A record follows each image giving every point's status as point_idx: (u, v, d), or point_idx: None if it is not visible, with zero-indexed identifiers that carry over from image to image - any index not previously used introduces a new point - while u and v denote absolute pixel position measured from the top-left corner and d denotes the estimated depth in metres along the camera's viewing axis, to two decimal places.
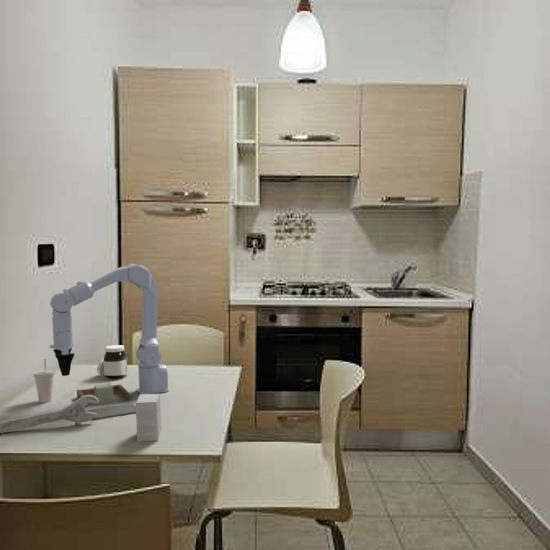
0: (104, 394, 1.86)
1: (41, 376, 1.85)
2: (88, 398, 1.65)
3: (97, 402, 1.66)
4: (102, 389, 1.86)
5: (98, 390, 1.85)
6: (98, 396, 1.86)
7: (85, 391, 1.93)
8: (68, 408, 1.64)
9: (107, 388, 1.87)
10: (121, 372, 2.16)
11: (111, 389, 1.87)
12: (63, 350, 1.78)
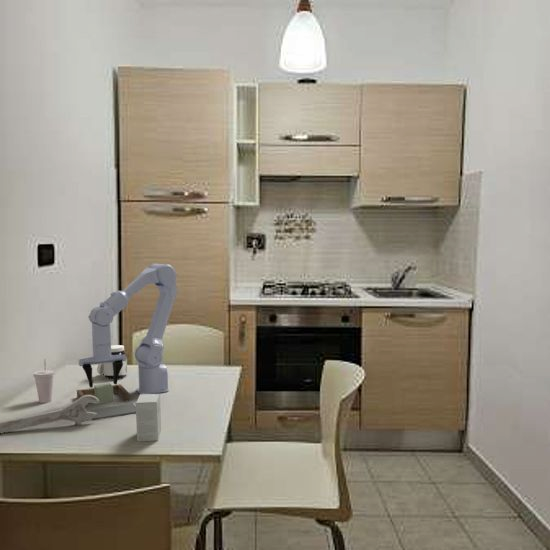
0: (104, 394, 1.86)
1: (41, 376, 1.85)
2: (88, 398, 1.65)
3: (97, 402, 1.66)
4: (102, 389, 1.86)
5: (98, 390, 1.85)
6: (98, 396, 1.86)
7: (85, 391, 1.93)
8: (68, 408, 1.64)
9: (107, 388, 1.87)
10: (121, 372, 2.16)
11: (111, 389, 1.87)
12: None
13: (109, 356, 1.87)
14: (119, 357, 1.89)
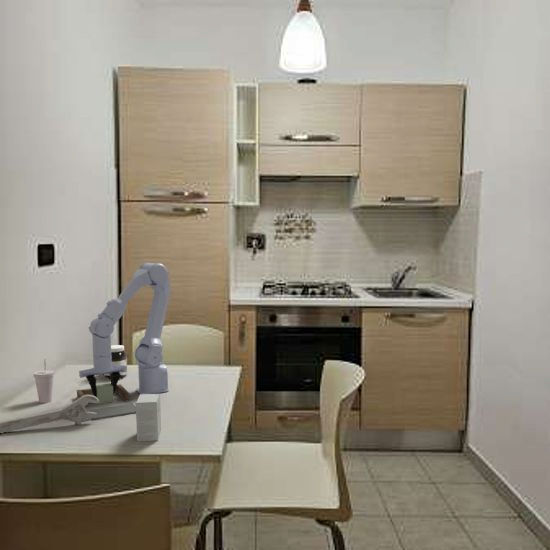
0: (104, 394, 1.86)
1: (41, 376, 1.85)
2: (88, 398, 1.65)
3: (97, 402, 1.66)
4: (102, 389, 1.86)
5: (98, 390, 1.85)
6: (98, 396, 1.86)
7: (85, 391, 1.93)
8: (68, 408, 1.64)
9: (107, 388, 1.87)
10: (121, 372, 2.16)
11: (111, 389, 1.87)
12: (79, 372, 1.85)
13: (110, 367, 1.87)
14: (120, 368, 1.89)
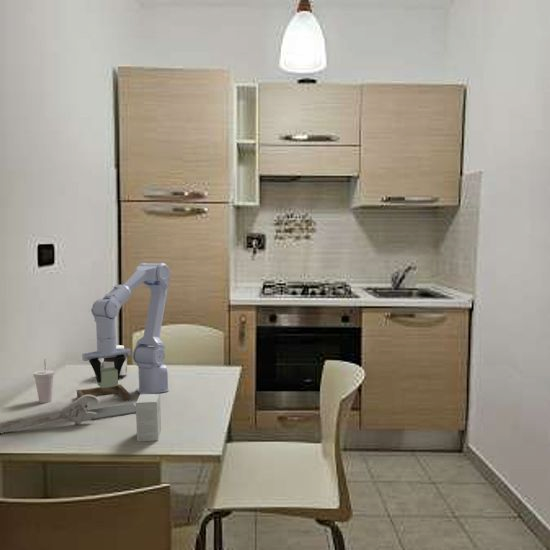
0: (108, 378, 1.79)
1: (41, 376, 1.85)
2: (88, 398, 1.66)
3: (97, 402, 1.66)
4: (106, 372, 1.78)
5: (102, 374, 1.78)
6: (102, 380, 1.78)
7: (85, 391, 1.93)
8: (68, 408, 1.64)
9: (112, 371, 1.79)
10: (121, 372, 2.16)
11: (116, 372, 1.80)
12: (82, 355, 1.77)
13: (114, 350, 1.79)
14: (124, 351, 1.82)
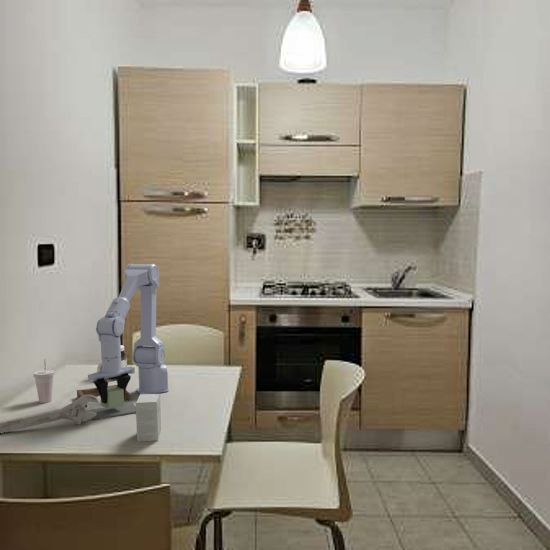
0: (115, 398, 1.74)
1: (41, 376, 1.85)
2: (88, 398, 1.66)
3: (97, 401, 1.66)
4: (113, 392, 1.74)
5: (109, 394, 1.73)
6: (109, 400, 1.73)
7: (85, 391, 1.93)
8: (68, 408, 1.64)
9: (118, 391, 1.75)
10: None
11: (122, 392, 1.76)
12: (88, 376, 1.71)
13: (120, 369, 1.75)
14: (129, 369, 1.78)
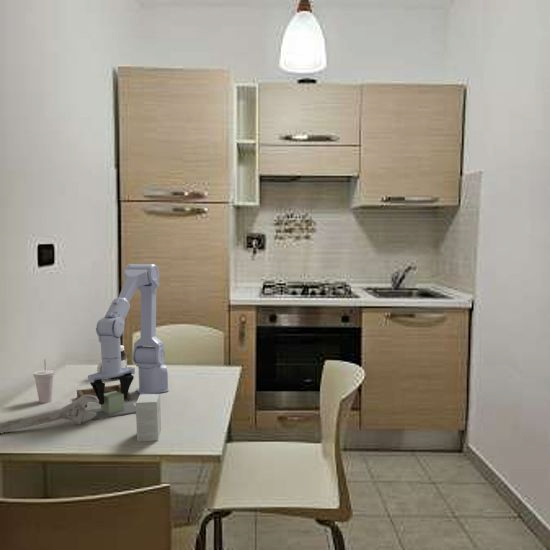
0: (115, 403, 1.74)
1: (41, 376, 1.85)
2: (88, 398, 1.66)
3: (97, 401, 1.67)
4: (113, 398, 1.74)
5: (109, 399, 1.73)
6: (109, 405, 1.73)
7: (85, 391, 1.93)
8: (68, 408, 1.64)
9: (118, 396, 1.75)
10: None
11: (122, 397, 1.76)
12: (88, 377, 1.71)
13: (120, 369, 1.75)
14: (129, 370, 1.78)
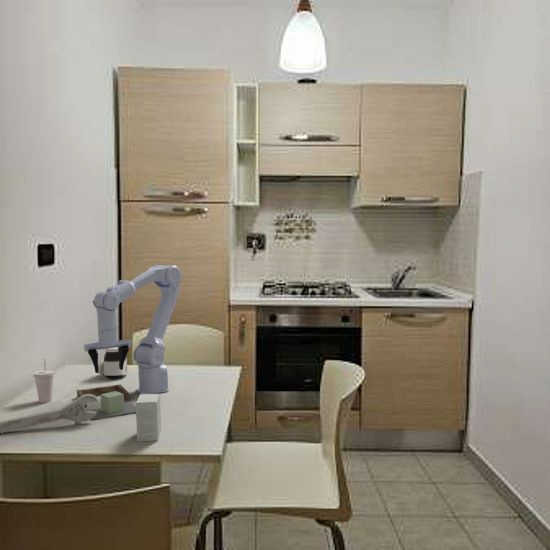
0: (115, 403, 1.74)
1: (41, 376, 1.85)
2: (88, 397, 1.66)
3: (97, 401, 1.67)
4: (113, 398, 1.74)
5: (109, 399, 1.73)
6: (109, 405, 1.73)
7: (85, 391, 1.93)
8: (68, 407, 1.64)
9: (118, 396, 1.75)
10: (121, 372, 2.16)
11: (122, 397, 1.76)
12: (84, 346, 1.82)
13: (115, 341, 1.84)
14: (125, 342, 1.87)
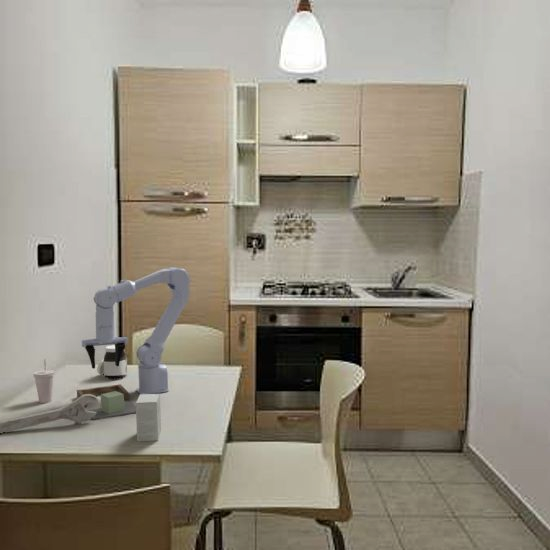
0: (115, 403, 1.74)
1: (41, 376, 1.85)
2: (88, 397, 1.66)
3: (97, 401, 1.67)
4: (113, 398, 1.74)
5: (109, 399, 1.73)
6: (109, 405, 1.73)
7: (85, 391, 1.93)
8: (68, 407, 1.64)
9: (118, 396, 1.75)
10: (121, 372, 2.16)
11: (122, 397, 1.76)
12: None
13: (112, 338, 1.90)
14: (121, 339, 1.92)
